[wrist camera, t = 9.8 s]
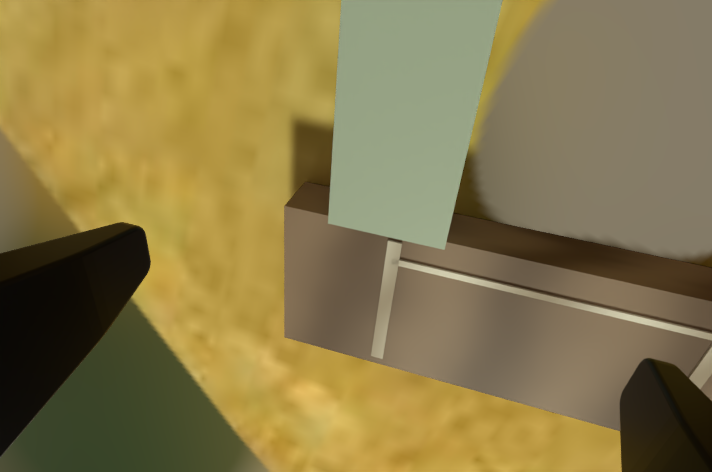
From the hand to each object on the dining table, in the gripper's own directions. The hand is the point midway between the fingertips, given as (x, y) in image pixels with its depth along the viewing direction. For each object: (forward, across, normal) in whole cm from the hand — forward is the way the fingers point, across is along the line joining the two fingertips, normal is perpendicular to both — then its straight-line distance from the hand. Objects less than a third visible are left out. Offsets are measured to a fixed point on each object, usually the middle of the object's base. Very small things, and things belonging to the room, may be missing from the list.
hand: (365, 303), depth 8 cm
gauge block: (+13, +1, -2) cm, 13 cm away
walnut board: (+13, -5, +9) cm, 16 cm away
